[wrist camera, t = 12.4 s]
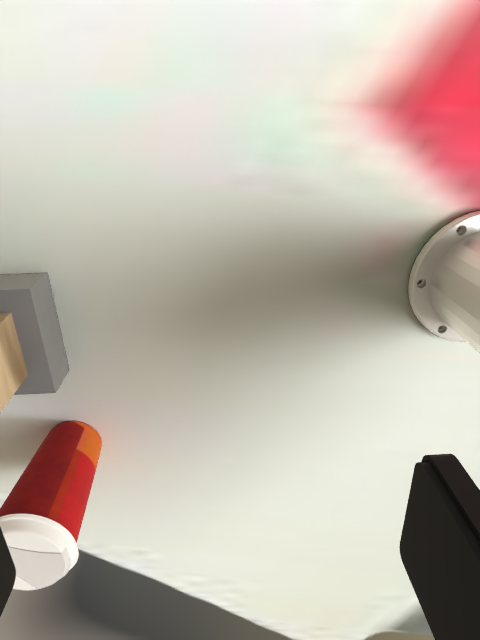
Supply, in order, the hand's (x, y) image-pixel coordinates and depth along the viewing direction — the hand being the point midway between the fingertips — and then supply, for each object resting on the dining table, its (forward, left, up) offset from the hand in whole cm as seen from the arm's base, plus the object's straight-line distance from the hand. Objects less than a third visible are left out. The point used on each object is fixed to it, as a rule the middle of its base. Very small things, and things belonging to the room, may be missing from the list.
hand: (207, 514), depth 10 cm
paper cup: (+16, +23, -31) cm, 41 cm away
